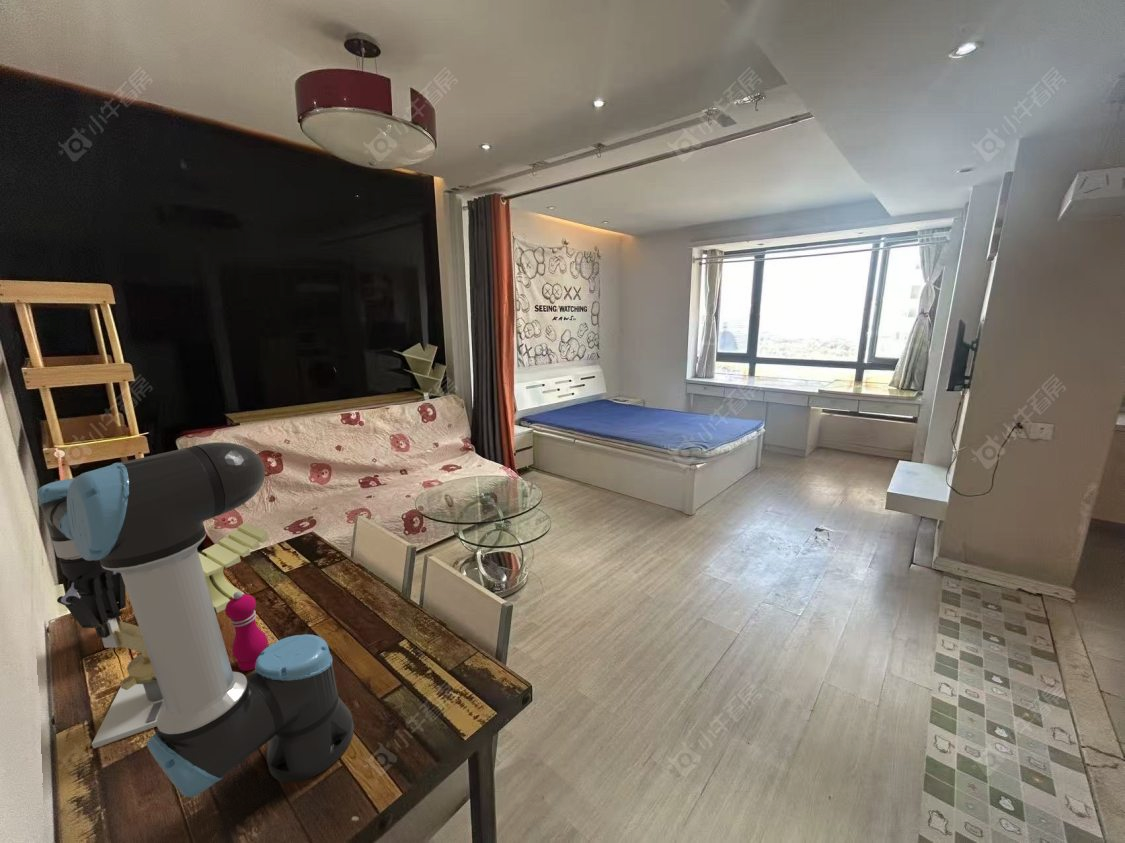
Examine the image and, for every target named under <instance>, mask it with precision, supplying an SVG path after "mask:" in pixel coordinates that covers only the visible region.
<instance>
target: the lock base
mask: <svg viewBox="0 0 1125 843" xmlns="http://www.w3.org/2000/svg"><path fill="white" fill-rule="evenodd" d="M164 706H165V703H164V700H163V697H162V694H161V691H160V688H159V685H158V682H157V680H154V681H152V682H149V683H145V684H135V685H134V686H132V687H131V688H129V689H128V690H125V689H122V688H121V686H120V688H119V689H118V692H117V693H116V696H115V697H114V700H112V704H111V705H110V707H109V708H108V711H107V713H106V715H105V717H104V719H103V721H102V723H101V725H100V726H99V729H98V730H97V733H96V734H95V736H94V739H93V741H92V743H91V746H92V748H93V749H97V748H100V747H103V746H105V745H109V744H111V743H114V742H117V741H119V740H122V739H125V738H128V737H131V736H133V735H135V734H138V733H139V734H140V733H142V732H144V731H147V730H148V731H149V730H150V729H153V728H155V727H157V718H158V715H159V713H160V711H161V710H162V709H163V707H164Z"/></svg>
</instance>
